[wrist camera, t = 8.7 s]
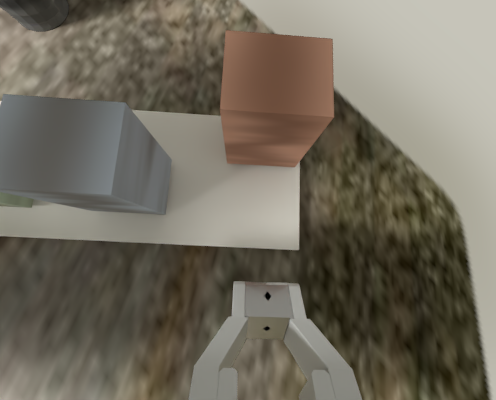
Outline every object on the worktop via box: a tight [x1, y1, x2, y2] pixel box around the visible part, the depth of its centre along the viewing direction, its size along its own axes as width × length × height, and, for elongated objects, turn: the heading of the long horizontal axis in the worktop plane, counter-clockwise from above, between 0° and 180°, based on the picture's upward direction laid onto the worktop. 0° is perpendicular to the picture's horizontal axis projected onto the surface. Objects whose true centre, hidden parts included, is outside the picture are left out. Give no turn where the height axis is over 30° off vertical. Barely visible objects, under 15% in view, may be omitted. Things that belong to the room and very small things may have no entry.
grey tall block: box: [0, 94, 172, 215], centre depth 13 cm, size 5×4×7 cm
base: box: [0, 101, 300, 250], centre depth 17 cm, size 24×10×2 cm, turn 87°
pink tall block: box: [220, 30, 334, 167], centre depth 14 cm, size 5×4×7 cm
